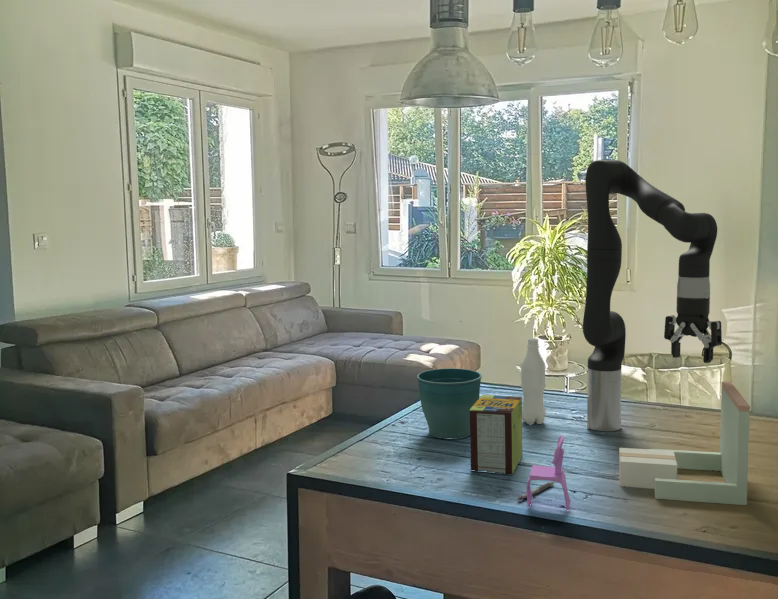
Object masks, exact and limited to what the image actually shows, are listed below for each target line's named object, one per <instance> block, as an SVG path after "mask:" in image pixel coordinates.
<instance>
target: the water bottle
mask: <svg viewBox="0 0 778 599" xmlns="http://www.w3.org/2000/svg"><path fill="white" fill-rule="evenodd" d="M526 344H527V346H526V348H527V350H526V353H525V355H524V357H523V359H522V361H521V363H520V379H521V381H520V386H521V388H522V396H523V397H522V423H524V422H526V423H525V424H527V425H528V424H531V425H530V426H533V425H534V424H535V423H536V425H538V424H540V425H542V424H543V423H544V421H545V418H546V413H547V412H546V408H545V404H544V393H545V392H544V391H545V389H546V369H547V368H546V367H547V366H546V363H545V361H544V359H543V357H542V355H541V354H540V351H539V348H540V346H539V338H527V343H526ZM532 424H533V425H532Z"/></svg>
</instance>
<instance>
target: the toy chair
mask: <svg viewBox="0 0 778 599" xmlns="http://www.w3.org/2000/svg"><path fill="white" fill-rule="evenodd" d="M557 440H558V441H557V445H556V447H555V450H554V453H553V460H552V462H551V463H552V464H553V465H554V466H544V465H535V464H533V465H532V466H531V470H530V473H529V475H528V478H527V481H526V489H525V490H526V493H525V494H527V498H526V500H527V507H528V506H529V507H530V504H531V500H532V497H533V498H534V495H533V496H532V493H531V491H532V490H531V482H532V481H548V482H554V483H559V484H560V485H561V486H562V487H561V488H562V492H563V496H564V501H565V507H566V511H567V510H569V511H570V509H569V504H570V505H571V498H570V495H569V491H568V485H567V479H566V478H567V477H566V474H565V472H564V471H563V468H564V467H563V460H564V454H565V449H564V448H562V447H563V444H564V440H565V437H564V436H563V435H560V436H558V439H557ZM531 505H532V504H531Z"/></svg>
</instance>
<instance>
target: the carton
mask: <svg viewBox="0 0 778 599" xmlns="http://www.w3.org/2000/svg"><path fill="white" fill-rule="evenodd" d="M649 449H650V448H648V449H646V448H645V449H644V448H634V447H633V448H632V447H631V448H630V447H629V448H628V447H619V449H618V450H619V453H618V454H619V456H618V458H619V462H618V465H619V466H618V469H619V470H618V471H619V472H618V474H619V475H618V476H619V487H624V486H625V487H626V488H637V489H652V490H655V478H660V479H675V480H678V468H677V462H676V458H675V455H674V451H665V450H666V449H665V450H649ZM625 487H624V488H625Z"/></svg>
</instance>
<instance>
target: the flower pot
mask: <svg viewBox="0 0 778 599" xmlns="http://www.w3.org/2000/svg"><path fill="white" fill-rule="evenodd" d="M482 377H483V376H482V374H481V373H480V372H479V371H477V370H473V369H465V368H451V367H449V368H446V367H445V368H437V369H436V368H435V369H428V370H424V371H421V372H420V373H418V374H417V376H416V378H417V382H418V389H419V397H420V398H419V399H420V400H419V401H420V405H421V408H422V413H423V415H424V419H425V420H426V424H427V428H428V433H429V435H431V436H432V437H434V436H435V437H434V438H437V437H439V438H438V439H442V438H458V439H462V438H461V437H463V438H465V436H466V437H469V436H470V413H469V410H470V409H471V407H472V406H473V405H474V404H475V403H476V402H477V400H478V399H479V398H480V394H481V393H480V390H481V381H482Z"/></svg>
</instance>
